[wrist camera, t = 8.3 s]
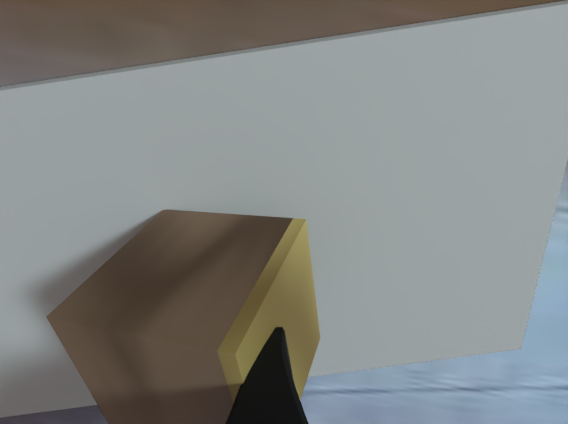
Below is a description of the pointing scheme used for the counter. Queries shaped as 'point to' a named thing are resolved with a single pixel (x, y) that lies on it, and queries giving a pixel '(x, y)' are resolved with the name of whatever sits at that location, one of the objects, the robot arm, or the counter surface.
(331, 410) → the counter surface
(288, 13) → the counter surface
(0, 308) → the mat
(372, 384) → the counter surface
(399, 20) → the counter surface
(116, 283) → the flip block
